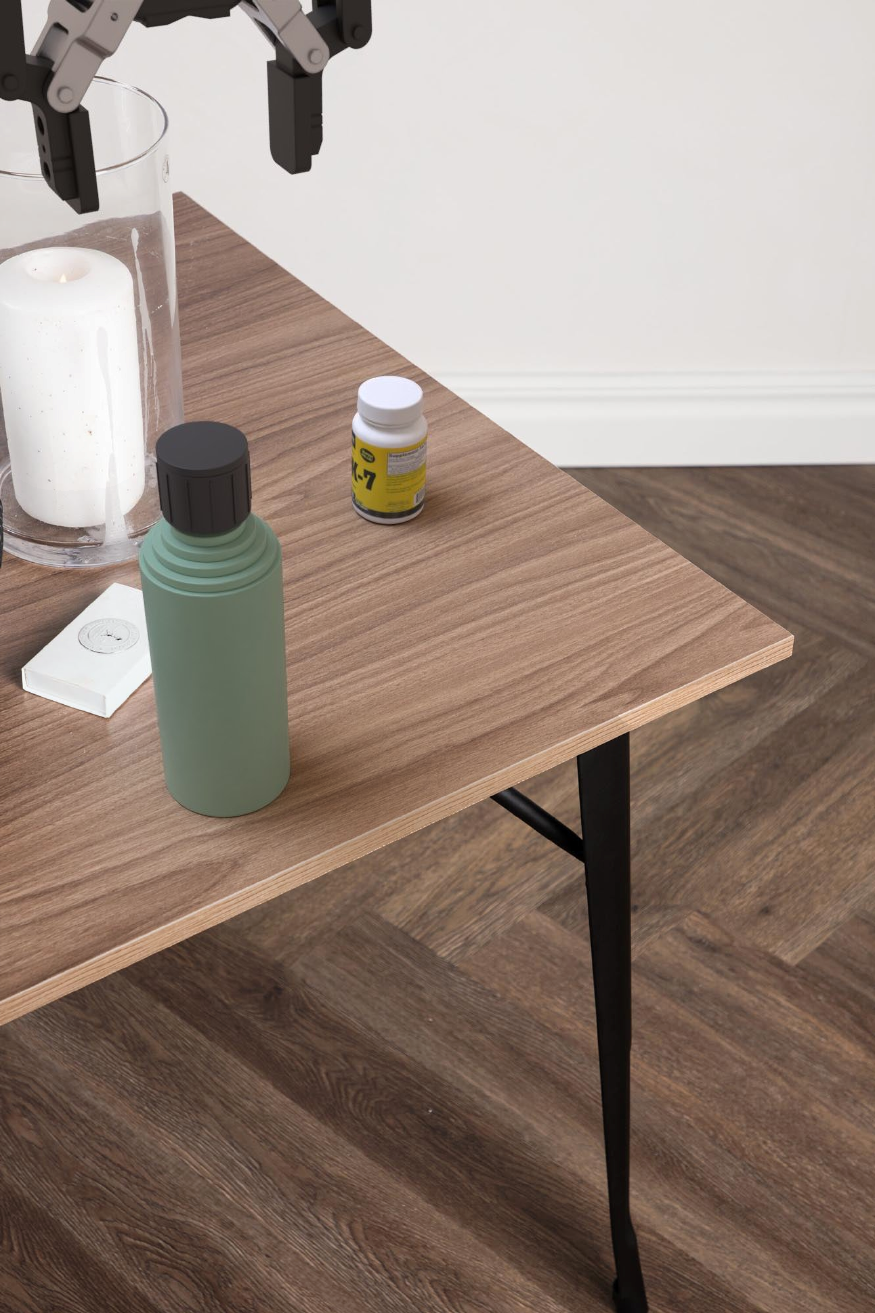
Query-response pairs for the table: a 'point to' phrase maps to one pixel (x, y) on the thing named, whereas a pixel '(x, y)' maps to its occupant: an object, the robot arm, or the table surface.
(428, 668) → the table surface
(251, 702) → the water bottle
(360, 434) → the supplement bottle
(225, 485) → the cap
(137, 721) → the table surface
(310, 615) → the table surface
